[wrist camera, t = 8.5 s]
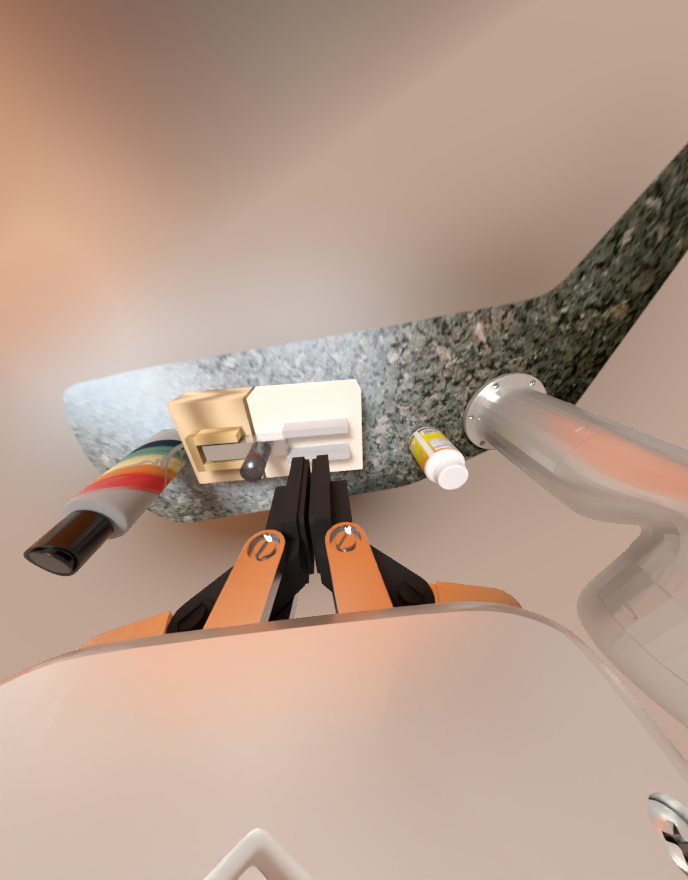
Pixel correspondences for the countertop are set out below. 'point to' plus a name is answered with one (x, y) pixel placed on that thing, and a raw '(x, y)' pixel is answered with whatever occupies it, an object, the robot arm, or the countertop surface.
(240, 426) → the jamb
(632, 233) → the countertop surface
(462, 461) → the supplement bottle
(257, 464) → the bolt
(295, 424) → the white slotted base
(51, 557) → the lotion bottle
